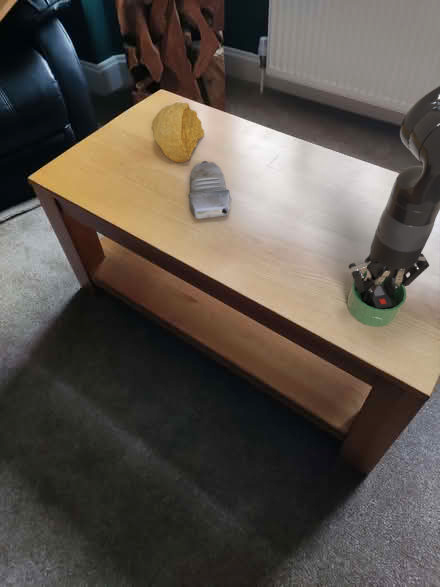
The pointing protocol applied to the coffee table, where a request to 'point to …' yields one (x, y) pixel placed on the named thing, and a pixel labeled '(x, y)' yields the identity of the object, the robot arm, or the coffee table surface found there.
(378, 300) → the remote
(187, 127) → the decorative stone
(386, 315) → the bowl
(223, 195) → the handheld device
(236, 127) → the coffee table surface
